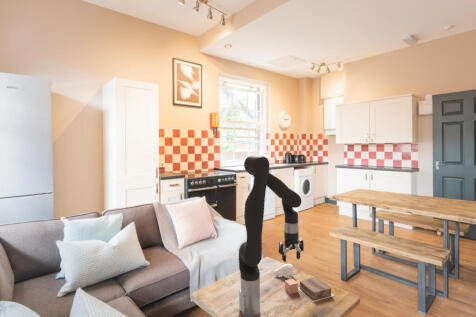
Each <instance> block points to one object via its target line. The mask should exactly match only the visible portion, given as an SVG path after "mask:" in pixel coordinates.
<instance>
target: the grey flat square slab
mask: <svg viewBox="0 0 476 317" xmlns="http://www.w3.org/2000/svg"><path fill="white" fill-rule="evenodd" d="M298 292H300V293H301V294H302V295H304V296H305V298H307V299H308V300H309V301H311V303H315V302H319V301H323V300H326V299H328V298H329V299H330V298H332V297H335V294H333V293H331V296H328V297H324V298H321V299H317V300H313V299H312V298H310V297H309V296H308V295H307V294H306V293H305V292H303V291H302V290H301V289H300V286H298Z"/></svg>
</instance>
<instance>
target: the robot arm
mask: <svg viewBox="0 0 476 317" xmlns="http://www.w3.org/2000/svg"><path fill="white" fill-rule="evenodd" d="M243 167H244V169H245V171H246V172H247V173H248V174H250V176H253V185H252V188H251V190H250V192H249V194H248V196H247V198H246V200H245V203H244V214H243V215H244V216H243V217H244V225H245V232H246V241H244V242H242V243H241V244H240V246H239V249H238V268H239V273H240V290H239V291H238V292H239V294H238V295H239V296H238V297H239V300H238V301H239V302H238V304H239V305H238V306H239V311H240V312H241V315H242V316H243V317H257V316H258V315H260V313H261V284H260V283H261V281H260V279H261V278H260V277H261V274H260V268H259V266H258V265H260V262H261V260H262V257H263V242H262V241H263V240H262V239H263V238H262V237H263V229H264V228H263V226H264V216H265V204H266V203H265V201H266V192H267V187H268V189H270V190H271V191H272V192H273V193H274V195H276V196H277V197H278V198H280V199H281V205H282V206H281V207H282V209H283V212H284V226H283V234H284V235H283V236H284V237H283V239H284V240H283V242H281V241H279V242H278V254H280V255H281V261H283V262H284V263H286V262H287V254H288V252H290V251H292V250H296V252H295V253H296V254H295V258H296V260H300V259H301V252H303V251H304V250H305V246H304V240H303V239H301V238H300V235H299V233H300V232H299V231H300V230H299V213H298V211H296V210H294V208H295V209H296V208H299V207H300V206H301V205H302V198H301V196H300V195H299V194H298V193H297V192H296V191H294V190H293V189H291V188H289V187H288V186H287V185H286V184H285V182H283V181H282V179H280V178H278V177H277V176H275V175H273V174H272V173H270V160H269V159H268V158H267V157H266V156H262V155H249V156H247V157H246V158H245V160H244V162H243Z"/></svg>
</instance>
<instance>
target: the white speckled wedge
mask: <svg viewBox="0 0 476 317" xmlns="http://www.w3.org/2000/svg"><path fill="white" fill-rule="evenodd" d="M273 275H274V276H275V277H276V278H279V276H281V277H283V278H284V279H287V280H289V279H293V275H294V265H292V263H285V264H283V265H282V266H280V267H279V268H278V269H274V270H273Z"/></svg>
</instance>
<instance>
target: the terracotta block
mask: <svg viewBox="0 0 476 317" xmlns="http://www.w3.org/2000/svg"><path fill="white" fill-rule="evenodd" d="M298 288H299V282H297V281H296V280H295V279H294V278H291V279H286V280H284V290H285V291H286V293H288V294H289V295H291V294H295V293H299V290H298Z"/></svg>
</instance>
